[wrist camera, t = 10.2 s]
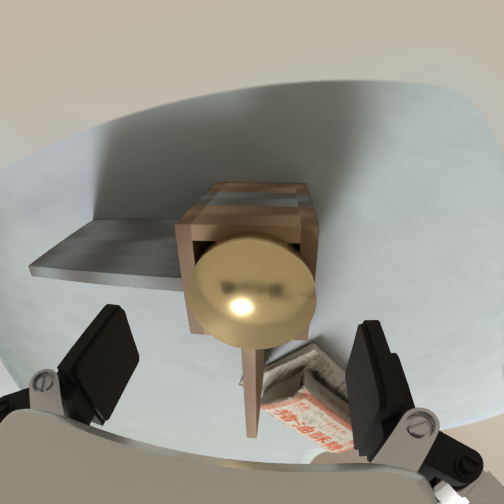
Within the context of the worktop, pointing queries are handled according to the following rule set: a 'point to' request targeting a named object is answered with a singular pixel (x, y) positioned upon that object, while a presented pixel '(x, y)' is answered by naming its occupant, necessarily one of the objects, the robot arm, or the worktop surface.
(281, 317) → the hinge pin
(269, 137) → the worktop surface
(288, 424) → the packaged product
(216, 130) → the worktop surface
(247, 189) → the hinge
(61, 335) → the worktop surface
